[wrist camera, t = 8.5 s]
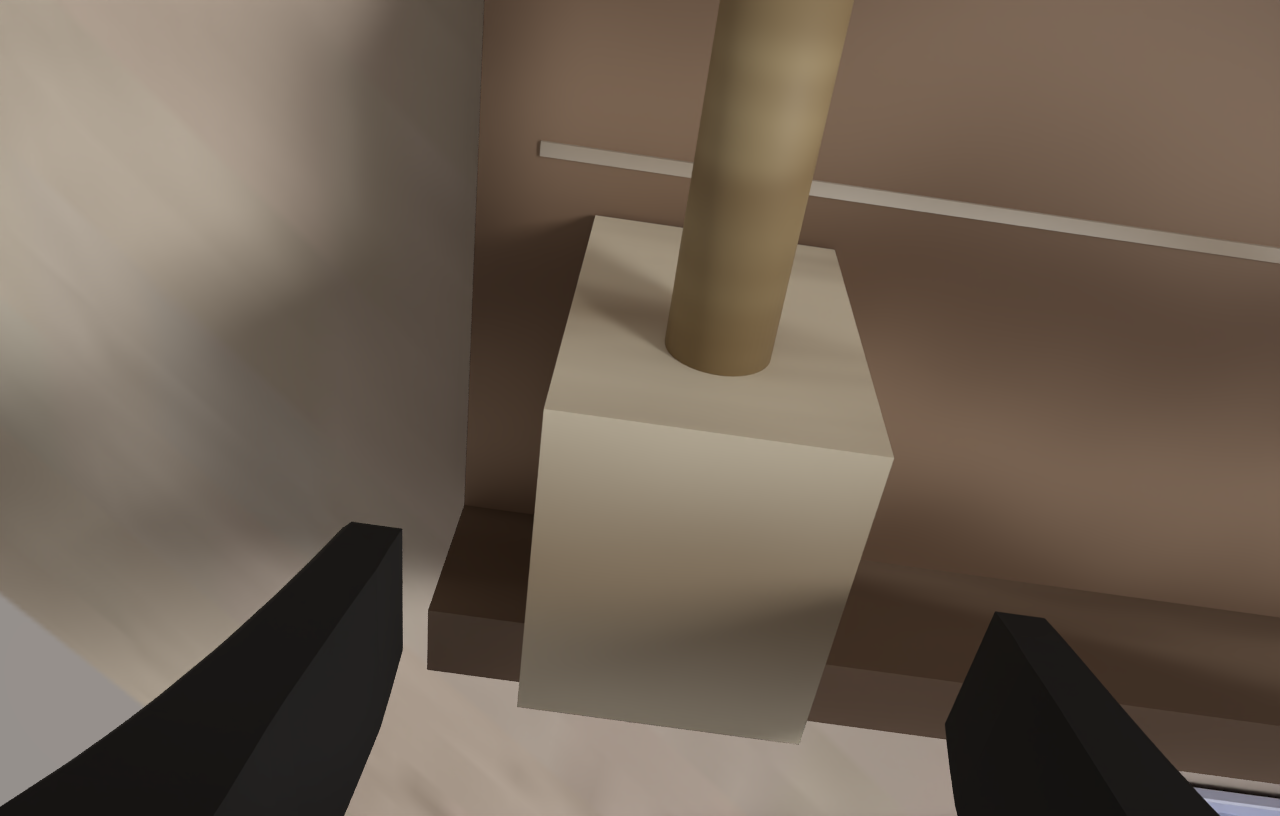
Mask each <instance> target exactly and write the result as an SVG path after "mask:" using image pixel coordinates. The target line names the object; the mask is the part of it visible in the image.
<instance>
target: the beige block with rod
mask: <svg viewBox="0 0 1280 816" xmlns="http://www.w3.org/2000/svg"><path fill="white" fill-rule="evenodd" d="M853 3H854V0H720V3H719V9H718V15H717V22H716V28H715V34H714V40H713V46H712V52H711V59H710V65H709V71H708V77H707V83H706V89H705V96H704V102H703V108H702V114H701V120H700V126H699V132H698V139H697V145H696V151H695V157H694V163H693V169H692V176H691V182H690V188H689V194H688V200H687V206H686V213H685V219H684V225H683V228H681V227H674V226H667V225H660V224H653V223H646V222H639V221H632V220H625V219H618V218H611V217H604V216H597V215H595V219H594V223H593V226H592V230H591V234H590V238H589V241H588V245H587V249H586V253H585V256H584V260H583V264H582V268H581V271H580V275H579V279H578V283H577V286H576V290H575V294H574V298H573V301H572V305H571V309H570V313H569V316H568V320H567V324H566V328H565V331H564V335H563V339H562V342H561V346H560V350H559V354H558V357H557V361H556V365H555V369H554V372H553V376H552V380H551V384H550V387H549V391H548V395H547V399H546V402H545V406H544V412H543V423H542V434H541V446H540V457H539V468H538V479H537V490H536V501H535V513H534V524H533V535H532V546H531V557H530V568H529V580H528V591H527V602H526V613H525V624H524V635H523V647H522V658H521V669H520V680H519V691H518V702H517V707H521V708H529V709H536V710H544V711H551V712H559V713H566V714H574V715H581V716H589V717H596V718H603V719H611V720H618V721H626V722H633V723H641V724H648V725H656V726H663V727H671V728H678V729H686V730H693V731H700V732H708V733H715V734H723V735H730V736H738V737H745V738H753V739H760V740H768V741H775V742H783V743H790V744H797V745H799V743H800V740H801V737H802V734H803V731H804V728H805V725H806V722H807V719H808V716H809V713H810V710H811V707H812V704H813V701H814V698H815V695H816V692H817V689H818V686H819V683H820V680H821V677H822V674H823V671H824V668H825V665H826V662H827V659H828V656H829V653H830V650H831V647H832V644H833V641H834V638H835V635H836V632H837V629H838V626H839V622H840V619H841V616H842V613H843V610H844V607H845V604H846V601H847V598H848V595H849V592H850V589H851V586H852V583H853V580H854V577H855V574H856V571H857V568H858V565H859V562H860V559H861V556H862V553H863V550H864V547H865V544H866V541H867V538H868V535H869V532H870V529H871V526H872V523H873V520H874V517H875V514H876V511H877V508H878V505H879V502H880V499H881V496H882V493H883V490H884V487H885V484H886V481H887V478H888V475H889V472H890V469H891V466H892V463H893V460H894V456H893V452H892V449H891V445H890V442H889V438H888V435H887V431H886V428H885V424H884V421H883V417H882V414H881V410H880V407H879V403H878V400H877V396H876V393H875V389H874V386H873V382H872V379H871V375H870V372H869V368H868V365H867V361H866V358H865V354H864V351H863V347H862V344H861V340H860V337H859V333H858V330H857V326H856V323H855V319H854V316H853V312H852V309H851V305H850V302H849V298H848V295H847V291H846V288H845V284H844V281H843V277H842V274H841V270H840V267H839V263H838V260H837V256H836V253H835V250H833V249H826V248H819V247H812V246H805V245H798V240H799V236H800V231H801V227H802V223H803V219H804V214H805V210H806V206H807V201H808V197H809V193H810V188H811V184H812V180H813V175H814V171H815V167H816V163H817V158H818V154H819V150H820V145H821V141H822V137H823V132H824V128H825V124H826V119H827V115H828V111H829V107H830V102H831V98H832V94H833V89H834V85H835V81H836V76H837V72H838V68H839V63H840V59H841V55H842V51H843V46H844V42H845V38H846V33H847V29H848V25H849V20H850V16H851V12H852V7H853Z"/></svg>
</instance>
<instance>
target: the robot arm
mask: <svg viewBox="0 0 1280 816" xmlns="http://www.w3.org/2000/svg"><path fill="white" fill-rule="evenodd" d="M402 651H403V611H402V529H399V528H392V527H385V526H378V525H371V524H363V523H356V522H351V523H349V524H348V525H346V526H345V527H343V528H342V529H341V530H340V531H339V532H338V533H337V534H336V535H335V536H334V537H333V538H332V539H331V540H330V541H329V542H328V543H327V544H326V545H325V546H324V548H323V549H322V550H321V551H320V552H319V553H318V554H317V555H316V556H315V557H314V558H313V559H312V560H311V561H310V562H309V563H308V564H307V565H306V566H305V567H304V568H303V569H302V570H301V571H300V572H299V573H297V574H296V575H295V576H294V577H293V578H292V579H291V580H290V581H289V582H288V583H287V584H286V585H285V586H284V587H283V588H282V589H281V590H280V591H279V592H278V593H277V594H276V595H275V596H274V597H273V598H272V599H270V600H269V601H268V602H267V603H266V604H265V605H264V606H263V607H262V608H261V609H259V610H258V611H257V612H256V613H255V614H254V615H253V616H252V617H251V618H250V619H248V620H247V621H246V622H245V623H244V624H243V625H242V626H241V627H240V628H239V629H237V630H236V631H235V632H234V633H233V634H232V635H231V636H230V637H229V638H228V639H226V640H225V641H224V642H223V643H222V644H221V645H220V646H218V647H217V648H216V649H215V650H214V651H213V652H211V653H210V654H209V655H208V656H207V657H205V658H204V659H203V660H202V661H201V662H199V663H198V664H197V665H196V666H194V667H193V668H192V669H191V670H190V671H188V672H187V673H186V674H185V675H184V676H182V677H181V678H180V679H179V680H177V681H176V682H175V683H174V684H173V685H171V686H170V687H169V688H168V689H167V690H165V691H164V692H163V693H162V694H160V695H159V696H158V697H157V698H155V699H154V700H153V701H152V702H150V703H149V704H148V705H146V706H145V707H144V708H142V709H141V710H140V711H139V712H137V713H136V714H135V715H133V716H132V717H131V718H129V719H128V720H127V721H125V722H124V723H123V724H121V725H120V726H119V727H117V728H116V729H115V730H113V731H112V732H110V733H109V734H108V735H106V736H105V737H103V738H102V739H101V740H99V741H98V742H96V743H95V744H94V745H92V746H91V747H89V748H88V749H86V750H85V751H84V752H82V753H81V754H79V755H78V756H77V757H75V758H74V759H72V760H71V761H69V762H68V763H66V764H65V765H63V766H62V767H61V768H59V769H57V770H56V771H55V772H53V773H51V774H50V775H48V776H47V777H45V778H44V779H42V780H40V781H39V782H37V783H36V784H34V785H33V786H31V787H30V788H28V789H27V790H25V791H24V792H22V793H21V794H19V795H17V796H16V797H14V798H13V799H11V800H10V801H8V802H7V803H5V804H4V805H2V806H1V807H0V816H344V815H345V812H346V810H347V808H348V805H349V803H350V800H351V798H352V796H353V793H354V791H355V788H356V786H357V784H358V781H359V779H360V776H361V774H362V772H363V769H364V767H365V764H366V762H367V759H368V757H369V755H370V752H371V750H372V747H373V745H374V742H375V740H376V737H377V735H378V732H379V730H380V727H381V724H382V721H383V717H384V714H385V710H386V707H387V704H388V700H389V697H390V694H391V690H392V686H393V683H394V679H395V676H396V672H397V669H398V665H399V661H400V658H401V654H402ZM945 731H946V740H947V749H948V757H949V766H950V774H951V780H952V787H953V794H954V801H955V807H956V811H957V815H958V816H1280V799H1277V798H1270V797H1263V796H1255V795H1248V794H1240V793H1233V792H1225V791H1218V790H1210V789H1203V788H1195V787H1193V786H1192V785H1191V784H1190V783H1189V782H1188V781H1187V780H1186V779H1185V778H1184V777H1183V776H1182V775H1181V773H1180V772H1179V771H1178V770H1177V769H1176V768H1175V767H1174V766H1173V765H1172V764H1171V762H1170V761H1169V760H1168V759H1167V758H1166V757H1165V756H1164V755H1163V753H1162V752H1161V751H1160V750H1159V749H1158V748H1157V747H1156V746H1155V744H1154V743H1153V742H1152V741H1151V740H1150V739H1149V738H1148V737H1147V735H1146V734H1145V733H1144V732H1143V731H1142V730H1141V729H1140V727H1139V726H1138V725H1137V724H1136V723H1135V722H1134V720H1133V719H1132V718H1131V717H1130V716H1129V715H1128V714H1127V712H1126V711H1125V710H1124V709H1123V708H1122V707H1121V705H1120V704H1119V703H1118V702H1117V701H1116V700H1115V698H1114V697H1113V696H1112V695H1111V694H1110V693H1109V691H1108V690H1107V689H1106V688H1105V687H1104V686H1103V684H1102V683H1101V682H1100V681H1099V680H1098V679H1097V677H1096V676H1095V675H1094V674H1093V673H1092V671H1091V670H1090V669H1089V668H1088V667H1087V666H1086V664H1085V663H1084V662H1083V661H1082V660H1081V659H1080V657H1079V656H1078V655H1077V654H1076V653H1075V652H1074V650H1073V649H1072V648H1071V647H1070V646H1069V645H1068V643H1067V642H1066V641H1065V640H1064V639H1063V638H1062V637H1061V635H1060V634H1059V633H1058V632H1057V631H1056V630H1055V629H1054V628H1053V627H1052V625H1051V624H1050V623H1049V622H1048V621H1047V620H1046V619H1045V618H1040V617H1033V616H1026V615H1018V614H1011V613H1004V612H997V611H995V613H994V615H993V617H992V619H991V622H990V624H989V626H988V628H987V630H986V633H985V635H984V637H983V639H982V642H981V644H980V646H979V648H978V651H977V653H976V655H975V657H974V660H973V662H972V664H971V666H970V669H969V671H968V673H967V675H966V678H965V680H964V682H963V684H962V687H961V689H960V691H959V693H958V695H957V698H956V700H955V702H954V704H953V707H952V709H951V711H950V713H949V716H948V718H947V720H946V722H945Z"/></svg>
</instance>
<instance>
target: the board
mask: <svg viewBox="0 0 1280 816" xmlns="http://www.w3.org/2000/svg"><path fill="white" fill-rule="evenodd" d="M719 3H720V0H484V20H483V45H482V71H481V96H480V121H479V147H478V172H477V197H476V223H475V248H474V274H473V299H472V324H471V350H470V375H469V400H468V426H467V451H466V476H465V502H464V508H463V510H462V513H461V516H460V519H459V522H458V525H457V528H456V531H455V534H454V537H453V540H452V542H451V545H450V548H449V551H448V554H447V557H446V560H445V563H444V566H443V569H442V572H441V575H440V577H439V580H438V583H437V586H436V589H435V592H434V595H433V598H432V601H431V604H430V607H429V609H428V655H427V670H434V671H441V672H449V673H456V674H464V675H471V676H479V677H486V678H493V679H501V680H508V681H516V682H519V680H520V669H521V658H522V647H523V635H524V624H525V613H526V602H527V591H528V580H529V568H530V557H531V546H532V535H533V524H534V513H535V501H536V490H537V479H538V468H539V457H540V446H541V434H542V423H543V412H544V406H545V402H546V399H547V395H548V391H549V387H550V384H551V380H552V376H553V372H554V369H555V365H556V361H557V357H558V354H559V350H560V346H561V342H562V339H563V335H564V331H565V328H566V324H567V320H568V316H569V313H570V309H571V305H572V301H573V298H574V294H575V290H576V286H577V283H578V279H579V275H580V271H581V268H582V264H583V260H584V256H585V253H586V249H587V245H588V241H589V238H590V234H591V230H592V226H593V223H594V219H595V215H597V216H604V217H611V218H618V219H625V220H632V221H639V222H646V223H653V224H660V225H667V226H674V227H681V228H683V225H684V219H685V213H686V206H687V200H688V194H689V188H690V182H691V176H692V169H693V163H694V157H695V151H696V145H697V139H698V132H699V126H700V120H701V114H702V108H703V102H704V96H705V89H706V83H707V77H708V71H709V65H710V59H711V52H712V46H713V40H714V34H715V28H716V22H717V15H718V9H719ZM798 245H805V246H812V247H819V248H826V249H833V250H835V253H836V256H837V260H838V263H839V267H840V270H841V274H842V277H843V281H844V284H845V288H846V291H847V295H848V298H849V302H850V305H851V309H852V312H853V316H854V319H855V323H856V326H857V330H858V333H859V337H860V340H861V344H862V347H863V351H864V354H865V358H866V361H867V365H868V368H869V372H870V375H871V379H872V382H873V386H874V389H875V393H876V396H877V400H878V403H879V407H880V410H881V414H882V417H883V421H884V424H885V428H886V431H887V435H888V438H889V442H890V445H891V449H892V452H893V456H894V460H893V463H892V466H891V469H890V472H889V475H888V478H887V481H886V484H885V487H884V490H883V493H882V496H881V499H880V502H879V505H878V508H877V511H876V514H875V517H874V520H873V523H872V526H871V529H870V532H869V535H868V538H867V541H866V544H865V547H864V550H863V553H862V556H861V559H860V562H859V565H858V568H857V571H856V574H855V577H854V580H853V583H852V586H851V589H850V592H849V595H848V598H847V601H846V604H845V607H844V610H843V613H842V616H841V619H840V622H839V626H838V629H837V632H836V635H835V638H834V641H833V644H832V647H831V650H830V653H829V656H828V659H827V662H826V665H825V668H824V671H823V674H822V677H821V680H820V683H819V686H818V689H817V692H816V695H815V698H814V701H813V704H812V707H811V710H810V713H809V716H808V719H807V721H813V722H821V723H828V724H835V725H843V726H850V727H858V728H865V729H873V730H880V731H887V732H895V733H902V734H910V735H917V736H925V737H932V738H940V739H946V731H945V722H946V720H947V718H948V716H949V713H950V711H951V709H952V707H953V704H954V702H955V700H956V698H957V695H958V693H959V691H960V689H961V687H962V684H963V682H964V680H965V678H966V675H967V673H968V671H969V669H970V666H971V664H972V662H973V660H974V657H975V655H976V653H977V651H978V648H979V646H980V644H981V642H982V639H983V637H984V635H985V633H986V630H987V628H988V626H989V624H990V622H991V619H992V617H993V615H994V613H995V611H997V612H1004V613H1011V614H1018V615H1026V616H1033V617H1040V618H1045V619H1046V620H1047V621H1048V622H1049V623H1050V624H1051V625H1052V627H1053V628H1054V629H1055V630H1056V631H1057V632H1058V633H1059V634H1060V635H1061V637H1062V638H1063V639H1064V640H1065V641H1066V642H1067V643H1068V645H1069V646H1070V647H1071V648H1072V649H1073V650H1074V652H1075V653H1076V654H1077V655H1078V656H1079V657H1080V659H1081V660H1082V661H1083V662H1084V663H1085V664H1086V666H1087V667H1088V668H1089V669H1090V670H1091V671H1092V673H1093V674H1094V675H1095V676H1096V677H1097V679H1098V680H1099V681H1100V682H1101V683H1102V684H1103V686H1104V687H1105V688H1106V689H1107V690H1108V691H1109V693H1110V694H1111V695H1112V696H1113V697H1114V698H1115V700H1116V701H1117V702H1118V703H1119V704H1120V705H1121V707H1122V708H1123V709H1124V710H1125V711H1126V712H1127V714H1128V715H1129V716H1130V717H1131V718H1132V719H1133V720H1134V722H1135V723H1136V724H1137V725H1138V726H1139V727H1140V729H1141V730H1142V731H1143V732H1144V733H1145V734H1146V735H1147V737H1148V738H1149V739H1150V740H1151V741H1152V742H1153V743H1154V744H1155V746H1156V747H1157V748H1158V749H1159V750H1160V751H1161V752H1162V753H1163V755H1164V756H1165V757H1166V758H1167V759H1168V760H1169V761H1170V762H1171V764H1172V765H1173V766H1174V767H1175V768H1176V769H1177V770H1178V771H1185V772H1192V773H1200V774H1207V775H1215V776H1222V777H1229V778H1237V779H1244V780H1252V781H1259V782H1267V783H1274V784H1280V0H854V3H853V7H852V12H851V16H850V20H849V25H848V29H847V33H846V38H845V42H844V46H843V51H842V55H841V59H840V63H839V68H838V72H837V76H836V81H835V85H834V89H833V94H832V98H831V102H830V107H829V111H828V115H827V119H826V124H825V128H824V132H823V137H822V141H821V145H820V150H819V154H818V158H817V163H816V167H815V171H814V175H813V180H812V184H811V188H810V193H809V197H808V201H807V206H806V210H805V214H804V219H803V223H802V227H801V231H800V236H799V240H798Z"/></svg>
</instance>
